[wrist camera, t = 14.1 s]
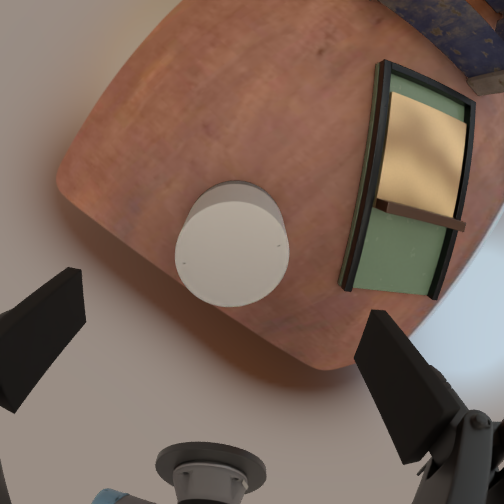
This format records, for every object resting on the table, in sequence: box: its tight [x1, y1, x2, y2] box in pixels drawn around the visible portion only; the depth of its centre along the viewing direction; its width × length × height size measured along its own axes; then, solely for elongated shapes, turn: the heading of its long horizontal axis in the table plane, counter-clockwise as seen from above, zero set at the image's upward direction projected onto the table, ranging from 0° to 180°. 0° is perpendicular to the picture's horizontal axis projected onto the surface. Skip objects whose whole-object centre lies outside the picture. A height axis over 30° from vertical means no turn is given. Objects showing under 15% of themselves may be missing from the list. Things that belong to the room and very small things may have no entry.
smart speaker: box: [175, 181, 289, 307], centre depth 27 cm, size 10×9×14 cm
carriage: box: [372, 92, 466, 232], centre depth 29 cm, size 14×12×4 cm
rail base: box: [338, 59, 476, 300], centre depth 32 cm, size 28×15×2 cm, turn 171°
